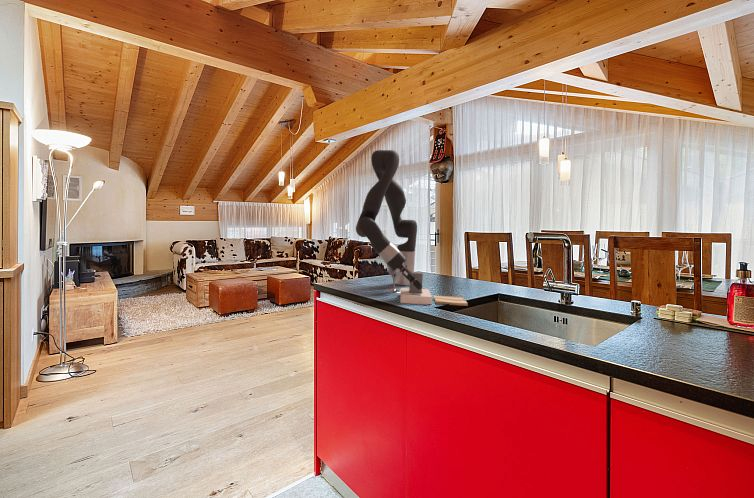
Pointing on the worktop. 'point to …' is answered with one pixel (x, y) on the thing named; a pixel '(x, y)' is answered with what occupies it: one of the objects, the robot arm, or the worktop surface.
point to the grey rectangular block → (419, 278)
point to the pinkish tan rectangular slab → (416, 297)
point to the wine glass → (394, 276)
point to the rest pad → (450, 300)
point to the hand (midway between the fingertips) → (420, 287)
